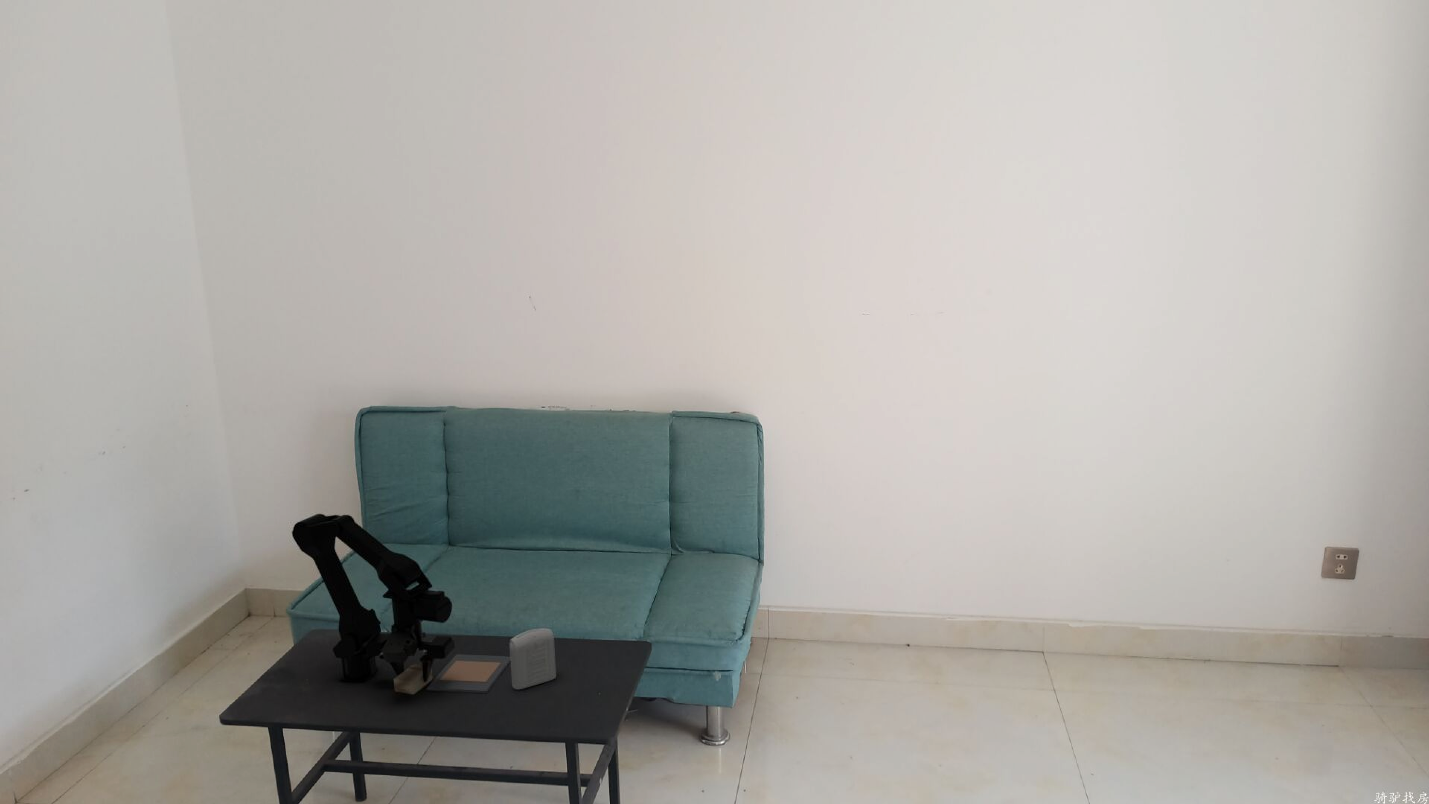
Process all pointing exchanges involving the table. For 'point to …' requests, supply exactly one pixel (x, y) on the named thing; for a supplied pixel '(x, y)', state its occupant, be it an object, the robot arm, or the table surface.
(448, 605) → the robot arm
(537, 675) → the grey rounded block
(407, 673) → the tan beveled box
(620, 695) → the table surface
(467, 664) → the rubber mat
